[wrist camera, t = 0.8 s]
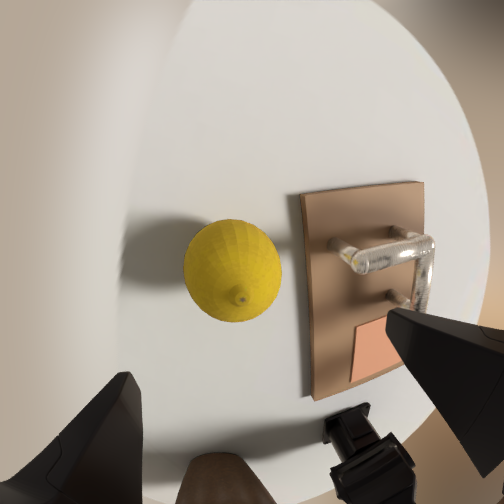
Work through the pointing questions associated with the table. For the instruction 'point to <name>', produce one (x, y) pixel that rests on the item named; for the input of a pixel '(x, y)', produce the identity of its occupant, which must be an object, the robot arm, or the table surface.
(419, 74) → the table surface
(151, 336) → the table surface
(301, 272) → the table surface
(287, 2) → the table surface
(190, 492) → the plant pot
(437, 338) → the robot arm
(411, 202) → the walnut board
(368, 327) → the terracotta tile
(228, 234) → the lemon
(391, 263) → the bent wire
